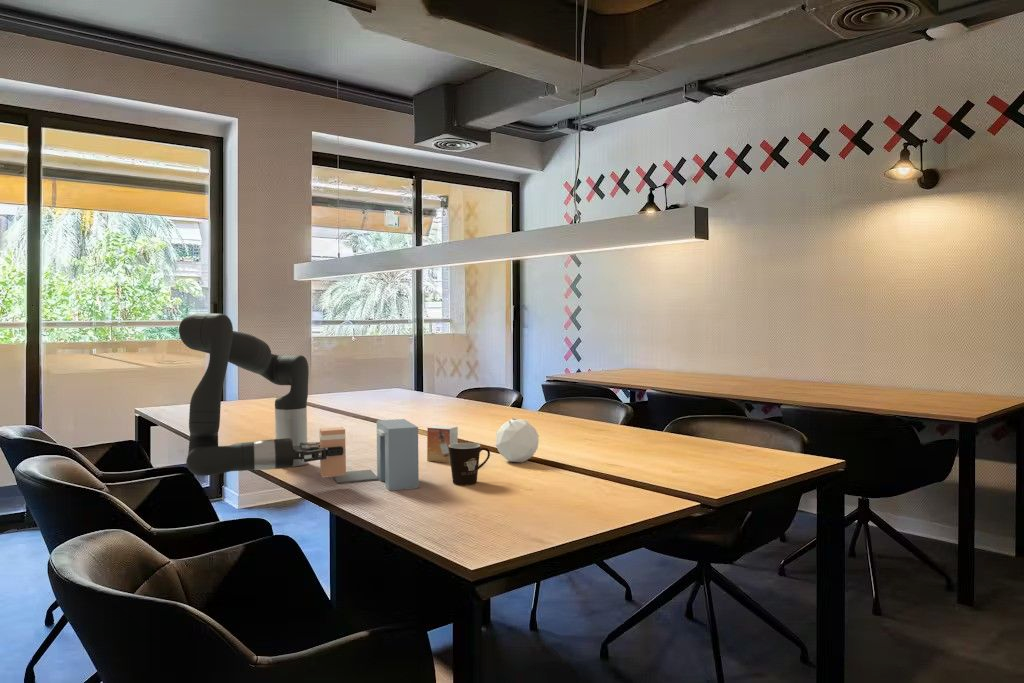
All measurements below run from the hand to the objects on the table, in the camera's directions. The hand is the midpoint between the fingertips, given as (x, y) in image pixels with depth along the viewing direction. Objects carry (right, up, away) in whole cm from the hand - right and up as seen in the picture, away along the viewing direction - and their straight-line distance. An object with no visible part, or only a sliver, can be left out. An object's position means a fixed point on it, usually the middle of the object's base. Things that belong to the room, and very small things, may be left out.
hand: (341, 449), depth 190 cm
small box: (+23, -9, +35) cm, 43 cm away
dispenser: (+13, -10, +5) cm, 17 cm away
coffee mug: (+34, -10, +6) cm, 35 cm away
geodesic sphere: (+46, -9, +33) cm, 58 cm away
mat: (+1, -10, +12) cm, 16 cm away
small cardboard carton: (-2, -7, 0) cm, 7 cm away
